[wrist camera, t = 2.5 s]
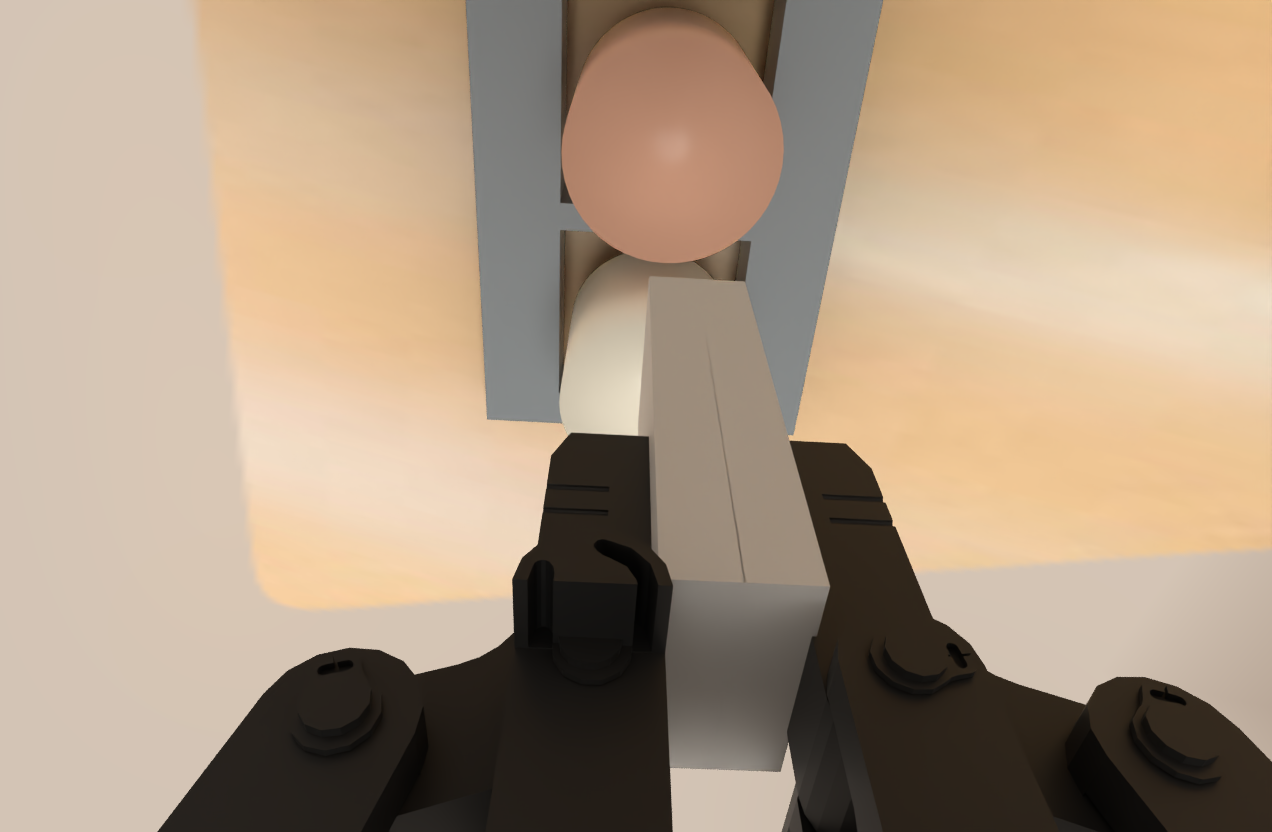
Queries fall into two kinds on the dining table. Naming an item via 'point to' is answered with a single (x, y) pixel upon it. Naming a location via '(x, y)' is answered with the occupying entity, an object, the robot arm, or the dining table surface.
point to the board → (542, 210)
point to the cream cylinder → (611, 345)
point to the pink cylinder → (671, 138)
